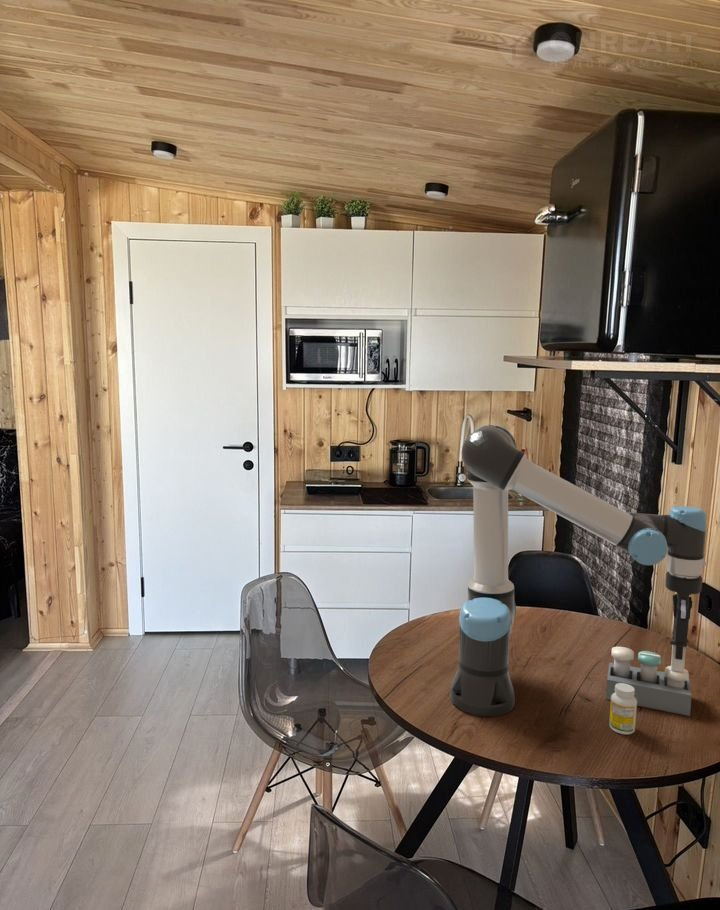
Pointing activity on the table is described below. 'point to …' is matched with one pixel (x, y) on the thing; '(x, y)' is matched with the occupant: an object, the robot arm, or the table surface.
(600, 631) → the table surface
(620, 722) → the supplement bottle
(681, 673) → the knob
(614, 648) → the knob
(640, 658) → the dial mid
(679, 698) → the grey slotted rack
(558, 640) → the table surface
